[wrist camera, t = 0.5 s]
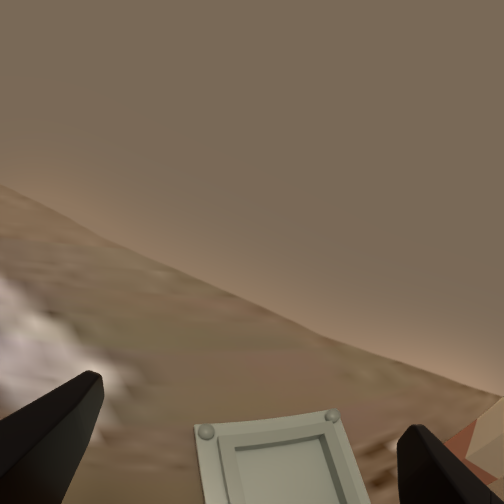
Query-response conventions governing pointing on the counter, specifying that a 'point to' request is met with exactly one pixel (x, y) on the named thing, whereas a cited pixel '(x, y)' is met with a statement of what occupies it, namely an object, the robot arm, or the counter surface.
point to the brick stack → (482, 444)
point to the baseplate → (279, 461)
